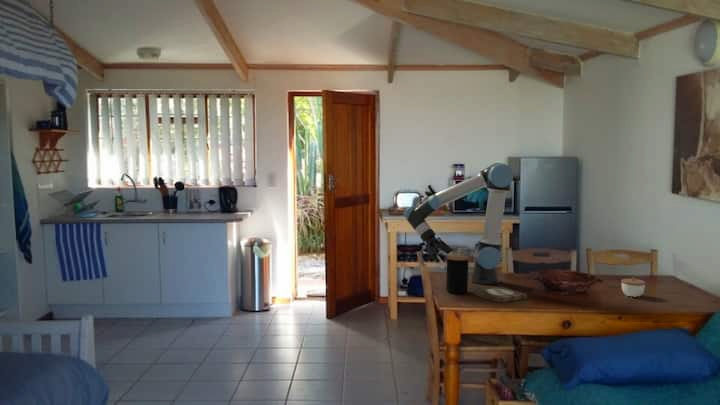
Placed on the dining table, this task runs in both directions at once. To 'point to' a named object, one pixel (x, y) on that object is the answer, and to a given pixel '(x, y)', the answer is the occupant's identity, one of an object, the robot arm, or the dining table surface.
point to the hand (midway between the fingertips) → (450, 265)
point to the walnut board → (500, 294)
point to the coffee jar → (457, 274)
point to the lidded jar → (633, 287)
